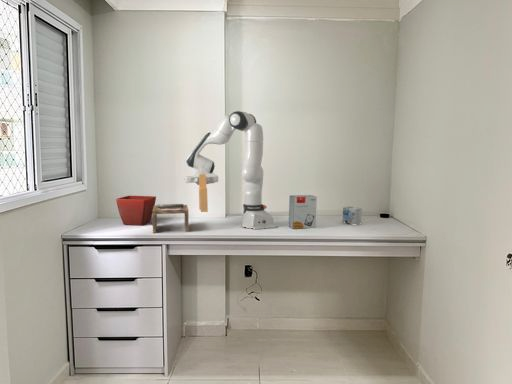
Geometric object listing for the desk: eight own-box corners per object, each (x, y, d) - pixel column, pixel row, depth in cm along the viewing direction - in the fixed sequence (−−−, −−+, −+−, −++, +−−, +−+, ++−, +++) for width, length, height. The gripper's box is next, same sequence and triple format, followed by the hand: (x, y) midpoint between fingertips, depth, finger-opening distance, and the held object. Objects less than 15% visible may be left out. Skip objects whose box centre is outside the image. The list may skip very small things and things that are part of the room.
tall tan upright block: (205, 208, 233) (204, 173, 231) (207, 211, 221) (206, 174, 219) (199, 208, 232) (198, 173, 230) (200, 212, 221) (199, 174, 218)
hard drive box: (292, 229, 227) (293, 196, 225) (288, 226, 235) (288, 195, 232) (316, 228, 231) (317, 196, 229) (311, 225, 239) (311, 194, 236)
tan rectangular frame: (187, 225, 236) (186, 201, 234) (188, 231, 216) (188, 206, 215) (154, 226, 231) (153, 202, 230) (152, 233, 212) (152, 207, 210)
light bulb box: (342, 222, 249) (342, 206, 248) (348, 221, 253) (349, 206, 252) (355, 225, 241) (355, 209, 240) (361, 224, 245) (362, 208, 244)
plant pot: (157, 221, 248) (156, 195, 246) (145, 226, 229) (145, 199, 227) (129, 220, 250) (128, 195, 248) (116, 225, 231) (115, 199, 229)
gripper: (184, 173, 235) (185, 175, 221) (216, 173, 239) (219, 174, 226) (184, 183, 235) (185, 185, 222) (216, 182, 240) (219, 184, 226)
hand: (202, 180), depth 224 cm, fingers closed on tall tan upright block, 4 cm apart
